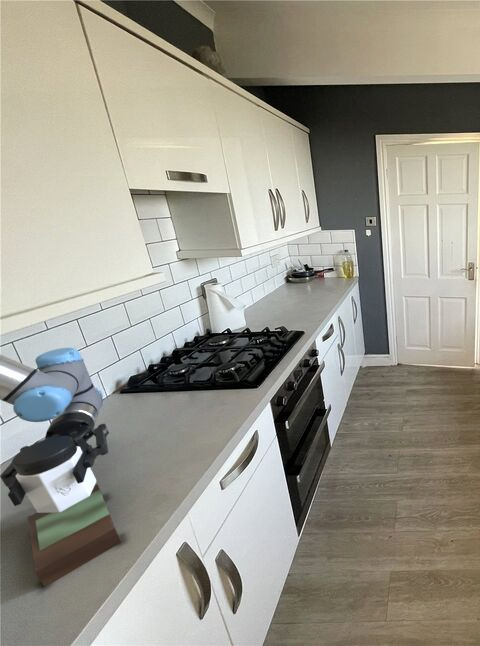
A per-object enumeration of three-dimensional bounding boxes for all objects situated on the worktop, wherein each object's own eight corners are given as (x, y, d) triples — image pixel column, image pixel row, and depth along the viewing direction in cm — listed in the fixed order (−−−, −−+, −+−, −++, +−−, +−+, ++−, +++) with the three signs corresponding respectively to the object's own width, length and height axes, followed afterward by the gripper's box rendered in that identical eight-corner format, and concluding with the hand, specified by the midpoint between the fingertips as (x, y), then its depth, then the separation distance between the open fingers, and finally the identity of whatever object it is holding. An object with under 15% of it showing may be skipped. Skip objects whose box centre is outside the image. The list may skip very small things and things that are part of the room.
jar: (44, 522, 65) (14, 473, 60) (31, 504, 69) (2, 456, 64) (104, 489, 72) (81, 442, 68) (89, 474, 76) (67, 429, 72)
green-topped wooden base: (38, 533, 74) (27, 515, 72) (105, 499, 82) (97, 483, 80) (46, 590, 63) (34, 571, 61) (123, 545, 71) (114, 527, 69)
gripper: (133, 422, 89) (125, 477, 71) (17, 457, 78) (-27, 533, 60) (123, 397, 86) (112, 448, 68) (1, 430, 75) (-50, 501, 57)
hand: (47, 488), depth 64 cm, fingers closed on jar, 8 cm apart
